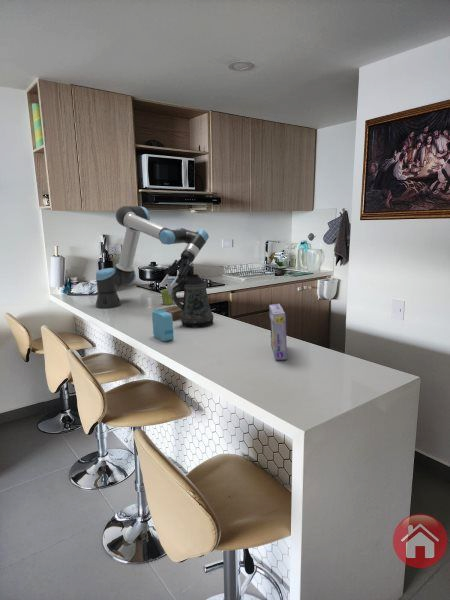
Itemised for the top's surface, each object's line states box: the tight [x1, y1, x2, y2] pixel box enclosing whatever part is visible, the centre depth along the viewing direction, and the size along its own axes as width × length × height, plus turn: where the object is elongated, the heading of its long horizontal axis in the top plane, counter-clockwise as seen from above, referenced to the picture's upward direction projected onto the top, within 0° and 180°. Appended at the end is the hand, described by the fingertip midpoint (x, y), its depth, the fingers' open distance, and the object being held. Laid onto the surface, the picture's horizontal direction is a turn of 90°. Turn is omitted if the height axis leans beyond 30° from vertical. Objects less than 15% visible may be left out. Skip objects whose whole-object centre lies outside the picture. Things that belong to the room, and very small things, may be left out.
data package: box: [151, 309, 175, 343], centre depth 173 cm, size 12×4×12 cm, turn 33°
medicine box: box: [166, 275, 177, 295], centre depth 210 cm, size 8×4×9 cm, turn 3°
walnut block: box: [158, 305, 183, 322], centre depth 213 cm, size 12×12×5 cm
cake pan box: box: [268, 303, 288, 361], centre depth 149 cm, size 19×5×18 cm, turn 178°
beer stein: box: [172, 274, 214, 329], centre depth 194 cm, size 16×19×25 cm
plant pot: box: [160, 289, 174, 306], centre depth 248 cm, size 9×9×9 cm
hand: (167, 286), depth 208 cm, fingers closed on medicine box, 9 cm apart
